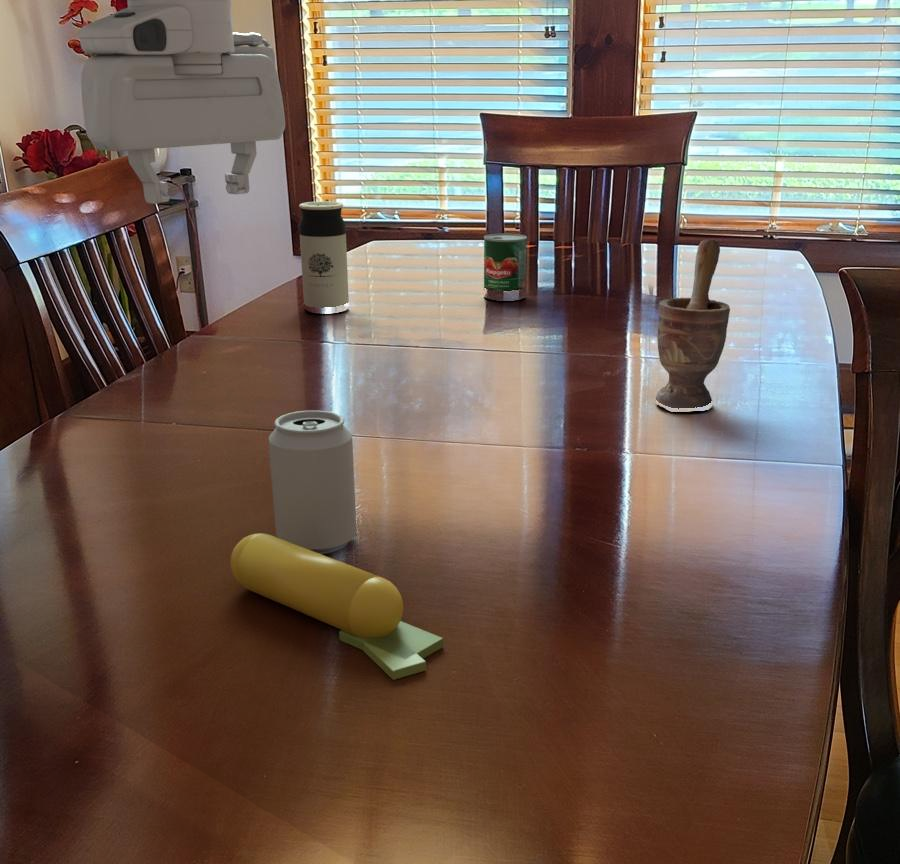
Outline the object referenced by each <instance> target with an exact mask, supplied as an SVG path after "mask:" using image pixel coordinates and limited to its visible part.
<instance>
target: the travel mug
mask: <svg viewBox="0 0 900 864" xmlns="http://www.w3.org/2000/svg"><path fill="white" fill-rule="evenodd" d="M298 207H299V208H300V211H301V215H302V216H301V219H300V222H299V224H298V230H299V231H298V232H299V246H300V248H299V249H300V263H301V278H302V292H303V293H302V295H303V305H304V304H305V305H306V306H309V307H315V308H324V307H336V306H340V305H344V304H346V303H348V302H349V303H350V296H349V293H350V292H349V275H348V274H349V273H348V252H347V251H348V250H347V248H348V247H347V232H346V231H347V230H346V229H347V228H346V226H347V225H346V222H345V220H344V219H343V217H342V210H343V209H342V208H343V207H344V204H343V203H342V202H340V201H339V202H338V201H308V202H307V201H306V202H302V203H300V204H299V205H298Z"/></svg>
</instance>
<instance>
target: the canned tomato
mask: <svg viewBox="0 0 900 864" xmlns="http://www.w3.org/2000/svg"><path fill="white" fill-rule="evenodd" d="M527 241H528V238H527V235H525V234H518V233H491V234H486V235H483V289H484V288H486V289H490V290H497V291H512V290H519V289H522V288H524V287H526V284H527V283H526V280H527V277H526V276H527V249H528V248H527V247H528V245H527Z"/></svg>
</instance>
